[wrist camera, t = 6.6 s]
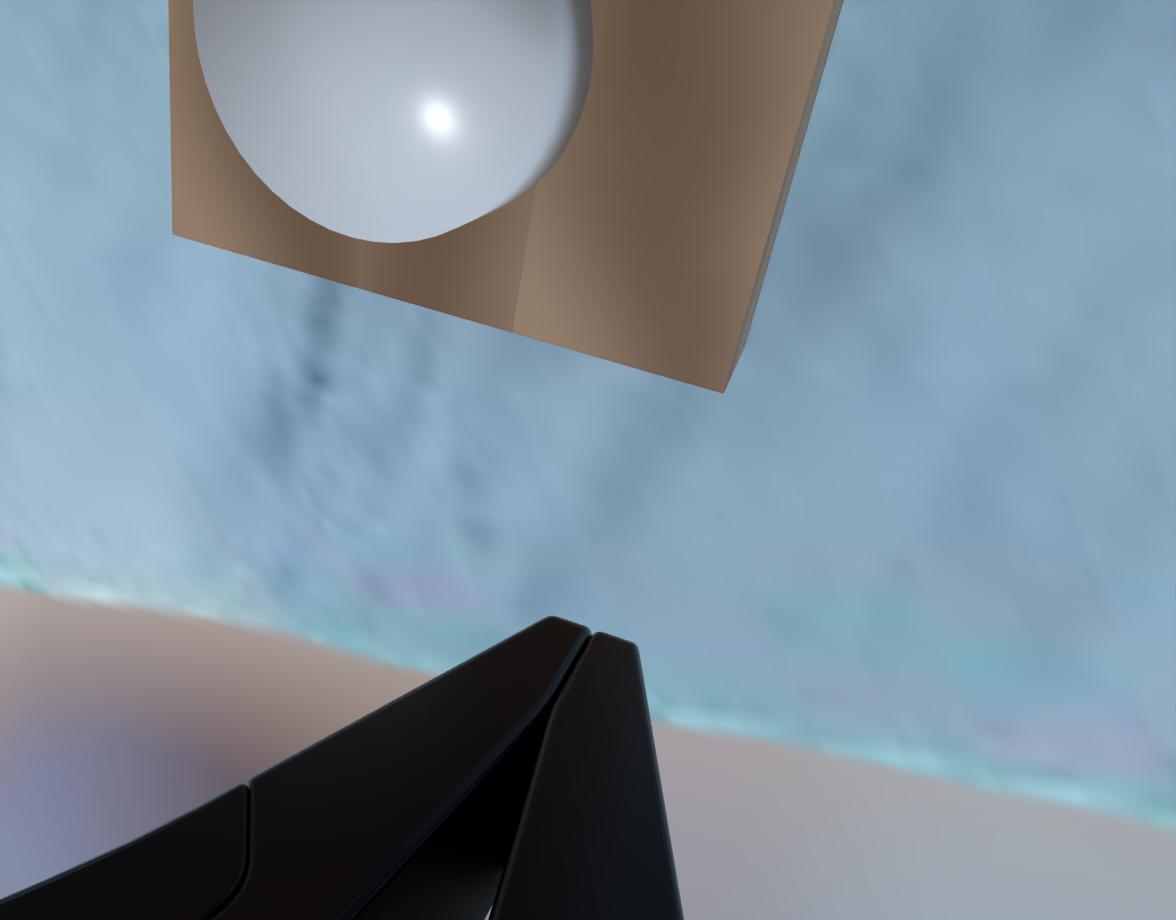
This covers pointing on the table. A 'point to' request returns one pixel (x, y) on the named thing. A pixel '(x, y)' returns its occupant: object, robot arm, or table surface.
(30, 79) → the table surface
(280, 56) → the slate button
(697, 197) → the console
